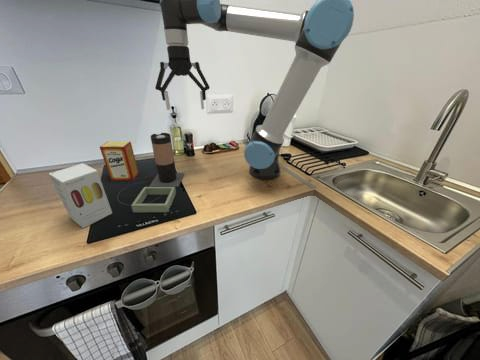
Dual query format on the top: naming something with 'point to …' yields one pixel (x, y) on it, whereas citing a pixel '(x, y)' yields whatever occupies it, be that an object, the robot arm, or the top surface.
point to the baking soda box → (119, 160)
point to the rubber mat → (175, 183)
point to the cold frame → (140, 207)
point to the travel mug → (164, 157)
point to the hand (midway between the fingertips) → (185, 109)
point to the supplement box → (81, 194)
